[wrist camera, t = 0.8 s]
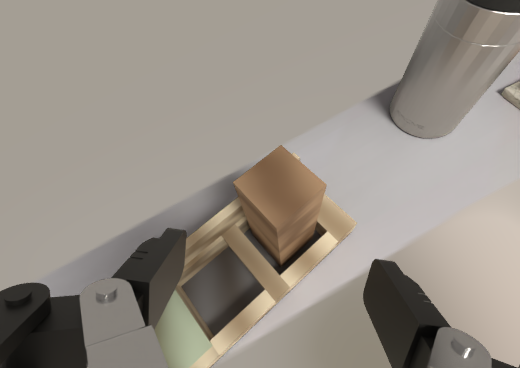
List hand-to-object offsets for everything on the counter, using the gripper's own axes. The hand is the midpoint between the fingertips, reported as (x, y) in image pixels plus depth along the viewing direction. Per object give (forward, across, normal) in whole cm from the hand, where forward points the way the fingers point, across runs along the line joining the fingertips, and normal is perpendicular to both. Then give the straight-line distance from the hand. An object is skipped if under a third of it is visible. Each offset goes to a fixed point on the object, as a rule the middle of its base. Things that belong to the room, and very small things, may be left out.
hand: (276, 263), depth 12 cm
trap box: (+17, +2, +14) cm, 22 cm away
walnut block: (+20, -2, +9) cm, 22 cm away
